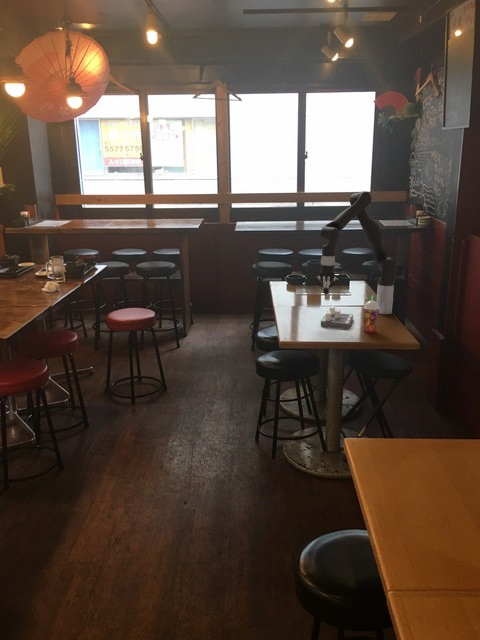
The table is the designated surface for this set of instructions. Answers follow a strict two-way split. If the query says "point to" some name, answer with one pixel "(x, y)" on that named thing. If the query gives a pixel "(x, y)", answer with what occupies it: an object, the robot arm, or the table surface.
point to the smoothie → (370, 316)
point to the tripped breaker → (337, 313)
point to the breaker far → (332, 310)
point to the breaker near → (328, 316)
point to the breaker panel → (338, 321)
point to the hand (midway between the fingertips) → (325, 294)
